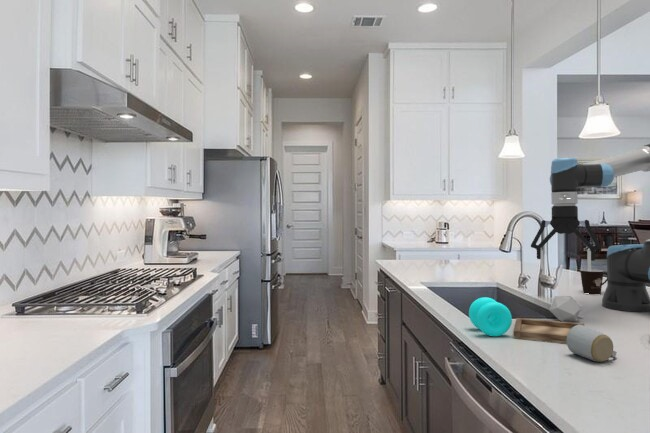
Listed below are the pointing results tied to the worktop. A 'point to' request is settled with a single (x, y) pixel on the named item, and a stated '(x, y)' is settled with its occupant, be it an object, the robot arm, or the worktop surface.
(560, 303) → the die
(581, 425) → the worktop surface
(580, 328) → the ceramic mug
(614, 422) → the worktop surface
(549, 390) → the worktop surface
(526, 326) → the tray
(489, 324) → the donuts
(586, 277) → the coffee mug
